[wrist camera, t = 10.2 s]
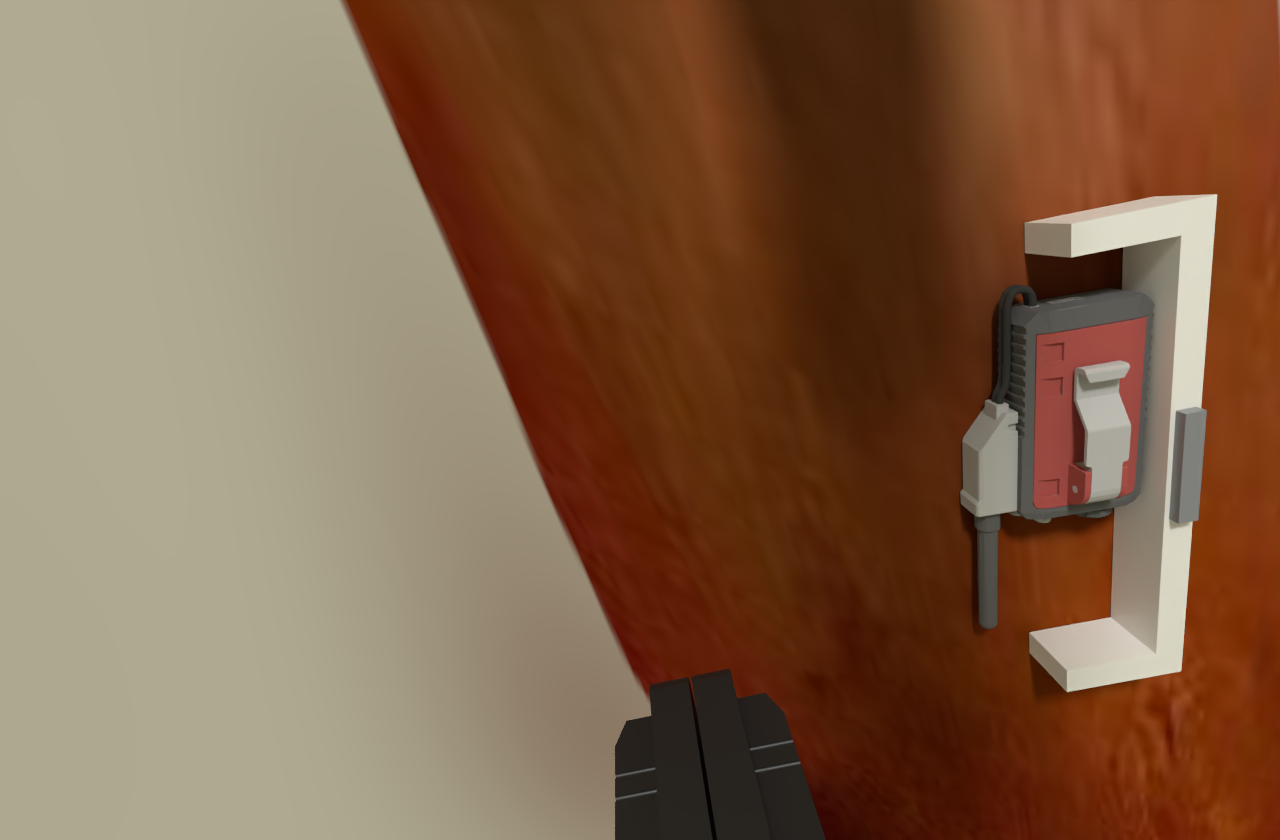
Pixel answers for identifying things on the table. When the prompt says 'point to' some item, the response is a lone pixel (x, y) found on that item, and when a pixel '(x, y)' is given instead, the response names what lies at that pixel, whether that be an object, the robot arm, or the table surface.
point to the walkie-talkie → (1058, 417)
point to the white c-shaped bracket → (1146, 438)
